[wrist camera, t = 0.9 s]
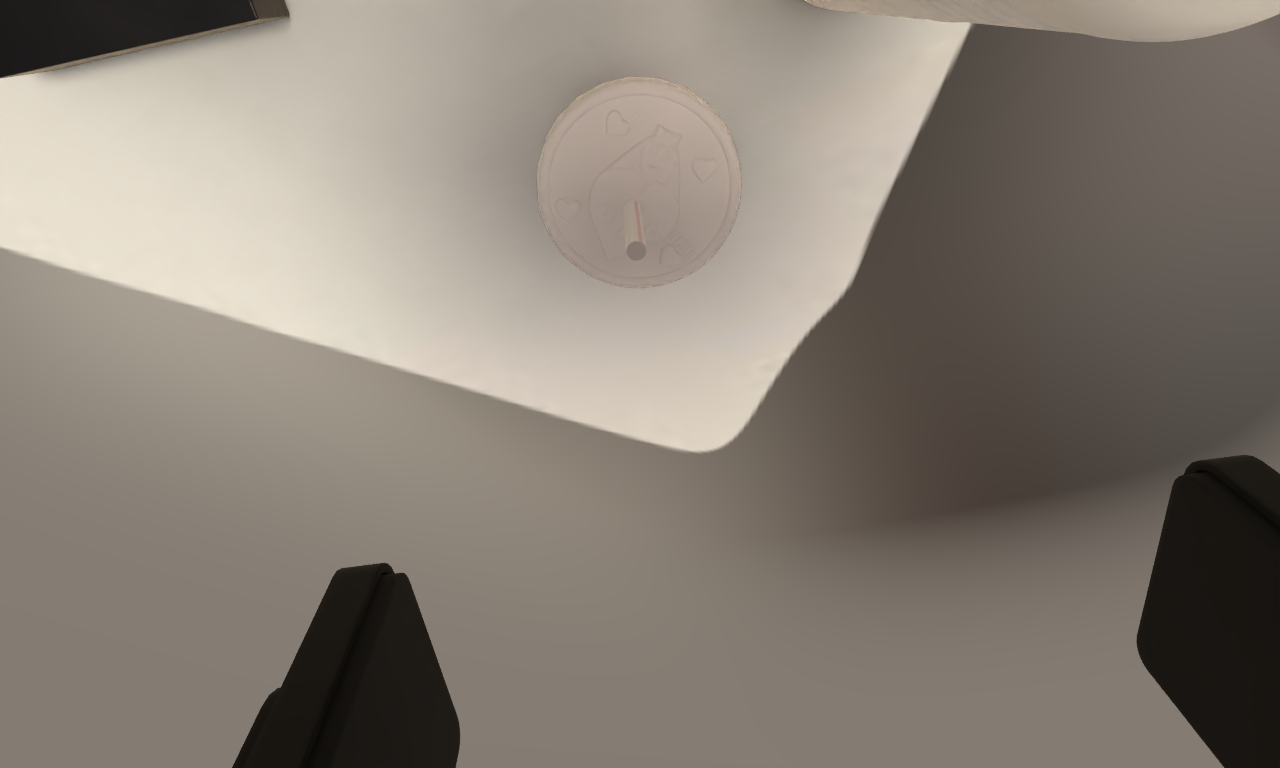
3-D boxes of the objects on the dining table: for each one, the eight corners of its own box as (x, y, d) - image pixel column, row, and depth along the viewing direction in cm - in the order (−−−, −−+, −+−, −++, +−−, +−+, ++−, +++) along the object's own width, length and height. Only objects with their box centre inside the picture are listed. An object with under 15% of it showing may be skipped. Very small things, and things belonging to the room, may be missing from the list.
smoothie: (531, 173, 32) (482, 289, 20) (593, 23, 30) (581, 48, 17) (665, 236, 34) (698, 380, 21) (735, 98, 31) (818, 171, 19)
